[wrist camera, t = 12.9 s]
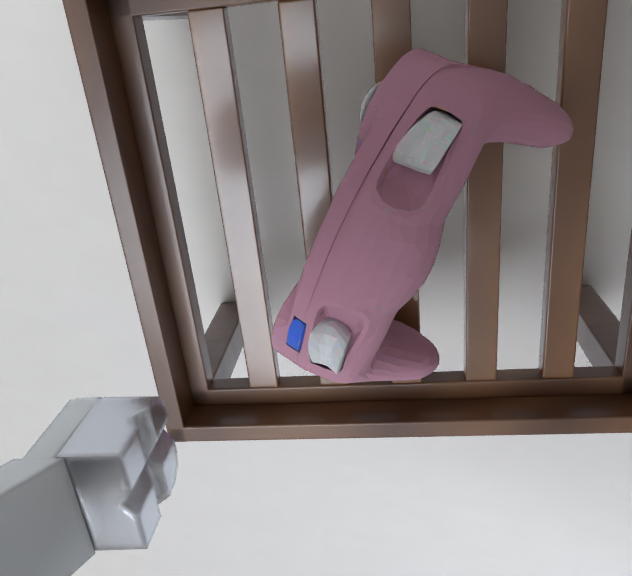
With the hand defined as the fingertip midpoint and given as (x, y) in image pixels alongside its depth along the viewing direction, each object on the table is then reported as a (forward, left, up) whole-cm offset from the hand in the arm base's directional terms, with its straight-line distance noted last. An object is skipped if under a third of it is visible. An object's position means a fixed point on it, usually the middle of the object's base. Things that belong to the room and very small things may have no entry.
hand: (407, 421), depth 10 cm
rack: (0, 0, -19) cm, 19 cm away
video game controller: (-1, 0, -11) cm, 11 cm away
